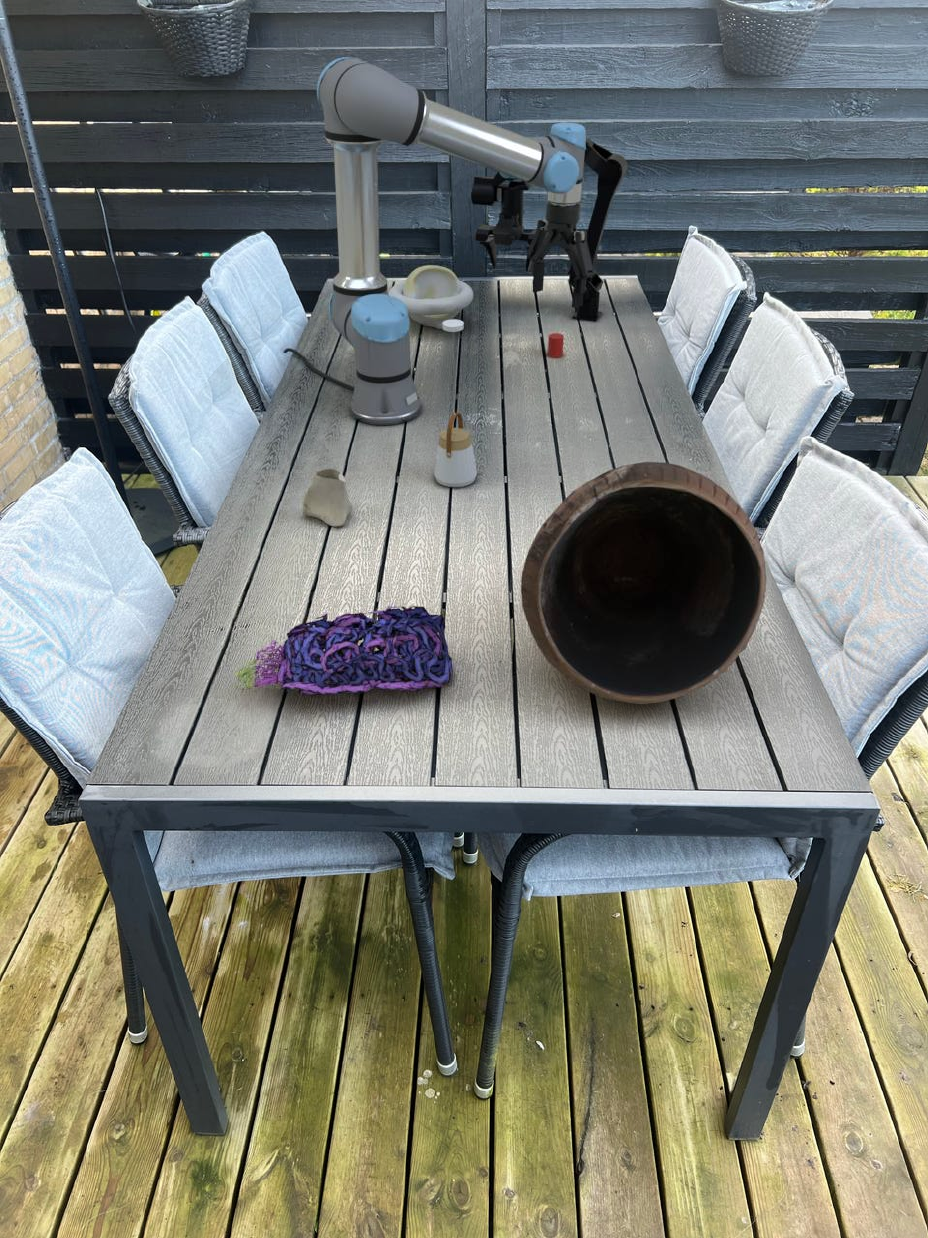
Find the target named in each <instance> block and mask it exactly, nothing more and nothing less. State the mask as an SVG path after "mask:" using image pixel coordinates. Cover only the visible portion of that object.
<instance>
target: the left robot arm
mask: <svg viewBox="0 0 928 1238" xmlns="http://www.w3.org/2000/svg"><path fill="white" fill-rule="evenodd" d="M316 96H317V102H318V104H319V108H320V110H321V111H322V113H323V121H324V134H325V135H324V136H325V140H326V142H327V143H328V144H330V145H331V146H332V149H333V163H334V185H335V208H336V228H337V247H338V249H337V250H338V273H337V274H336V275H335V276H334V277H333V278H332V292H331V294H330V297H329V301H328V314H329V317H330V320H331V322H332V324H333V326H334V328H335V329H336V331H337V332H338V333H339V334H340V335H341V336H342V337H343V338H344V339H345V340H346V341H347V342H348V343H349V344H350V345H351V347H352V348H353V352H354V363H355V364H354V365H355V373H356V374H355V375H356V379H355V383H354V386H353V385H350V384H347V383H345V382H344V381H341V380H338V379H336V378H334V377H332V376H330V375H329V374H326V373H324V372H322V371H321V370H319V369H318V368H316V367H315V366H313V365H312V364H311V363H310V362H309V360H308V359H307V357H305V356H304V355H303V354H302V353H300V352H298V351H297V350H296V349H294V348H290V347H288V348H285V349H284V350H283V354H287V353H288V352H289V353H292V354H294V355H296V356H297V357H299V358H300V359H302V361H303V362H304V363H305V365H306V366H307V367H308V368H309V369H310V370H312V371H313V372H314V373H316V374H318V375H319V376H321V377H323V378H325V379H326V380H329V381H331V382H333V383H335V384H337V385H339V386H342V387H344V388H346V389H349V390H351V391H353V395H352V397H351V399H350V413H351V415H352V417H353V418H354V419H356V420H357V421H359V422H362V423H364V424H369V425H375V426H393V425H398V424H403V423H406V422H409V421H411V420H413V419H415V418H417V416H419V415H420V413H421V411H422V401H421V396H420V395H419V393H418V390H417V386H416V385H415V381H414V378H413V377H412V363H411V362H412V361H411V338H410V337H411V336H410V325H411V321H410V315H409V314H408V310H407V307H406V305H405V304H404V303H403V302H402V301H401V300H400V299H398V298H396V297H389V295H388V279H387V278H386V277H385V275H383V273H382V272H381V261H380V260H381V259H380V256H381V255H380V214H379V213H380V211H379V210H380V209H379V169H378V167H379V166H378V165H379V164H378V162H379V161H378V149H379V147H381V145H382V144H383V143H384V142H385V141H388V142H392V143H394V144H395V143H396V144H399V145H402V146H404V147H408V148H410V147H412V146H413V145H415V144H417V145H420V146H423V147H426V148H429V149H431V150H434V151H437V152H440V153H443V154H446V155H449V156H452V157H454V158H458V159H460V160H463V161H466V162H469V163H472V164H474V165H477V166H481V167H483V168H486V169H489V170H492V171H495V172H497V173H498V172H499V173H500V175H501V176H502V177H503V178H513V179H515V178H517V179H515V180H519V181H522V180H523V181H526V182H528V183H530V184H531V185H532V186H536V187H538V188H539V187H540V188H541V189H544V190H546V191H547V192H546V200H547V201H548V202H547V203H546V208H545V218H542V219H538V221H537V224H536V225H537V226H536V229H535V230H536V233H535V235H534V237H533V240H532V242H531V245H530V247H529V250H528V252H527V251H526V255H525V256H526V259H527V258H530V259H531V261H532V263H531V264H532V267H531V268H532V269H531V274H532V293H539V292H542V291H544V283H545V282H544V280H545V265H546V264H545V259H544V258H545V257H546V256H547V255H548V253H549V252H550V251H551V250H552V249H553V247H559V248H561V249H563V251H564V252H565V253H566V254H567V256H568V259H569V262H570V265H571V264H572V266H573V269H574V271H575V274H576V276H577V277H576V278H574V284H573V287H572V296H571V297H572V299H571V308H573V309H577V307H579V306H582V305H583V293H585V290H586V279H587V278H589V277H592V276H594V270H593V266H592V261H591V257H590V253H589V248H588V244H587V230H586V229H583V230H578V229H577V225H578V223H579V221H580V217H581V204H580V202H581V200H582V189H583V178H584V177H583V176H584V166H585V165H584V164H585V162H584V156H585V150H586V138H587V135H586V133H587V132H586V128H585V126H584V125H582V124H581V123H576V122H558V123H554V124H552V126H551V129H550V132H549V135H544V136H530V137H529V136H528V137H527V136H524V135H522V134H518V133H517V132H513V131H511V130H509V129H506V128H504V127H501V126H498V125H496V124H493V123H491V122H488V121H485V120H483V119H480V118H478V117H475V116H473V115H470V114H467V113H465V112H461V111H459V110H457V109H454V108H451V107H448V106H446V105H443V104H441V103H438V102H436V101H433V100H430V99H428V98H427V95H426V93H425V91H423V90H422V89H420V88H416V87H414V86H412V85H409V84H408V83H406V82H404V81H403V80H400V79H398V78H397V77H396V76H394V75H392V74H391V73H389V72H387V71H385V70H384V69H383V68H381V67H379V66H378V65H377V66H376V65H375V64H371V63H368V62H366V61H365V60H364V59H361V58H359V57H352V56H349V57H348V56H347V57H346V56H345V57H339V58H336V59H334V60H332V61H330V62H329V63H328V64H327V65H326V66H325V67H324V69H323V70H322V71H321V73H320V75H319V77H318V80H317V85H316ZM547 232H548V235H547V236H546V234H547ZM545 236H546V238H545ZM544 238H545V239H544ZM543 241H544V242H543ZM542 243H543V244H542ZM587 271H588V272H587ZM581 272H582V273H581Z"/></svg>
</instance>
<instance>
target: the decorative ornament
mask: <svg viewBox="0 0 928 1238" xmlns="http://www.w3.org/2000/svg"><path fill="white" fill-rule="evenodd" d="M401 608H402V609H400V607H398V606H391V605H390V606H387V608H386V609H385V610H375V611H369V612H357V613H347V612H346V613H345V614H341V615H339V616H336V617H335V619H333V620H328V613H325V614H323V615H322V616H317V617H316V618H314V620H313V621H309V622H303V623H300V624H298V625H294V627H292V628H291V629H290V630H289V631H288V632H287V633H286V636H287V639H286V640H284V643H283V644H280V645H278V646H277V644H278V641H277V640H274V639H273V640H272V641H270V643H268V644H269V646H265V649H264V648H262V649H261V650H260V651H259V650H258V651H257V653H256V655H255V656H254V657H255V658H254V659H253V660H252V661H250V663H248V664H247V665H245V666H243V667H241V668H239V669H238V670H236V673H235V675H236V677H235V679H238V681H239V683H238V684H237V686H236V688H235V690H238V689H240V687H239V686H242V685H243V684H244V685H243V686H242V687H241V689H242V690H241V693H243V692H244V690H251V689H260V688H261V689H260V690H262V691H263V688H264V686H266V688H267V690H268V689H269V690H270V689H273V687H269V688H268V686H271V685H276V689H280V690H285V692H286V693H289V691H290V690H298V691H297V693H298V695H301V696H310V697H311V696H312V697H317V696H331V695H342V694H347V693H348V694H365V693H370V690H395V691H397V690H402V691H403V692H404V693H405V692H419V691H420V690H421V689H433V688H434V689H436V688H438V689H439V688H442V684H444V683H445V684H446V683H450V680H451V677H452V673H453V672H454V670H453V658H452V657H451V656H450V654H449V652H450V651H449V647H448V643H447V640H446V635H445V633H444V630H445V629H446V621H445V617H444V616H443V614H430V613H429V612H428V610H427V609H426V608H425V607H424V606H419V605H418V606H416V605H412V606H410V607H405V606H401ZM366 614H376V618H377V619H376V618H375V619H374V618H370V617H368V616H367V615H366ZM373 621H375V622H373ZM360 641H361V642H360ZM359 642H360V644H359ZM276 646H277V647H276ZM376 649H377V650H376ZM265 653H267V655H265ZM251 666H253V667H251ZM265 666H266V667H265ZM253 674H254V675H253ZM425 675H426V676H425ZM278 685H280V686H278ZM277 686H278V687H277Z"/></svg>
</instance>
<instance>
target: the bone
mask: <svg viewBox="0 0 928 1238" xmlns="http://www.w3.org/2000/svg"><path fill="white" fill-rule="evenodd" d="M347 489H348V488H347V480H346V478H345V476H344V475H343V474H342V473H341V472H340V471H338V470H337V469H334V468H326V469H321V470H319V471H316V473H315V475H314V476H313V478H312V481H311V482H310V485H309V486H308V487H307V490H306V491H305V493H304V496H303V498H302V508H301V513H302V514H303V515H305V516H307V517H314V518H317V519H319V520H322V521H323V522H324V523H325V524H327V525H328V526H330V527H334V528H336V527H342V526H344V525H345V524H346V520H347V516H348V515H349V514H351V512H352V511H353V503H352V502H351V501H350V499H349V495H348V490H347Z"/></svg>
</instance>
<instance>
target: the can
mask: <svg viewBox="0 0 928 1238" xmlns="http://www.w3.org/2000/svg"><path fill="white" fill-rule="evenodd" d="M564 339H565V336H564V334H563V333H559V332H554V333H553V332H552V333H550V334H549V335H548V342H547V356H548V357H549V358H554V359H558V358H561V357H563V355H564Z"/></svg>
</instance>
